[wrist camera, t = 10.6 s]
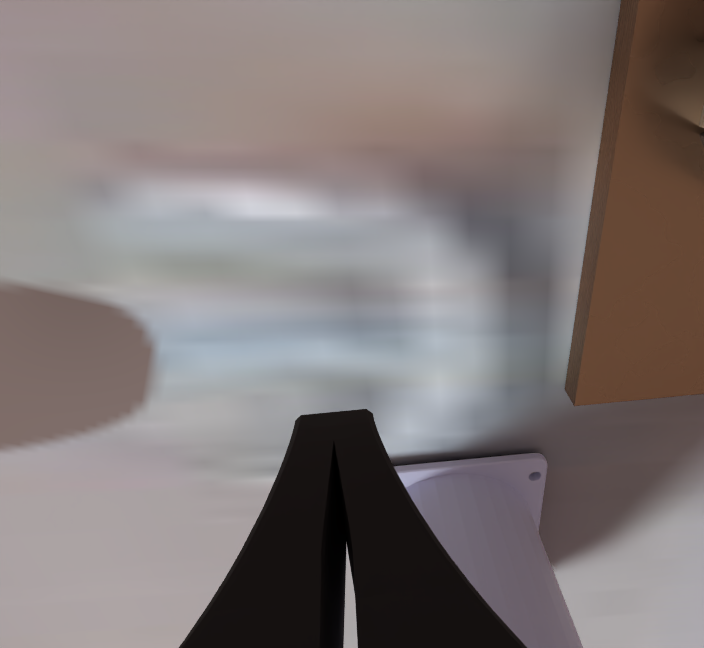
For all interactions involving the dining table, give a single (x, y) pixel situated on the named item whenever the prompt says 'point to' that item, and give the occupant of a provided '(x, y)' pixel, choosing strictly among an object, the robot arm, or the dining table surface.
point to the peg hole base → (646, 217)
